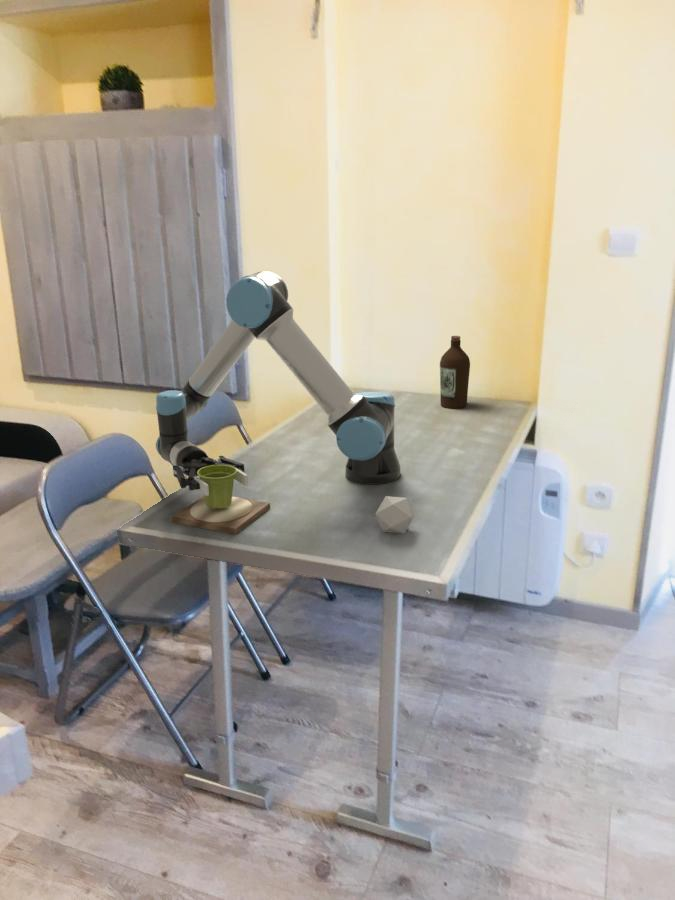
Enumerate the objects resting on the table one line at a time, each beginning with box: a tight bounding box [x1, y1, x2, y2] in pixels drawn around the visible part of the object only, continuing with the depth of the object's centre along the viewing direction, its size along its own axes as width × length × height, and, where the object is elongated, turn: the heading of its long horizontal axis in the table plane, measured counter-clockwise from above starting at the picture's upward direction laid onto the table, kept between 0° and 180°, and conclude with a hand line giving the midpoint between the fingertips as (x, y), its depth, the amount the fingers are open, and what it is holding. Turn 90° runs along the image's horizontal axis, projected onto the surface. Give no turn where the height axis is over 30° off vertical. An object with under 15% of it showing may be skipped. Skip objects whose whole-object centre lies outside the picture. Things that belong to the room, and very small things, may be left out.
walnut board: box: [171, 495, 271, 535], centre depth 182 cm, size 18×16×2 cm
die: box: [375, 495, 415, 535], centre depth 172 cm, size 8×9×10 cm
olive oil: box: [439, 335, 471, 410], centre depth 266 cm, size 11×11×25 cm
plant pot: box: [197, 465, 237, 509], centre depth 181 cm, size 9×9×9 cm
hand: (227, 485), depth 176 cm, fingers open, 9 cm apart
